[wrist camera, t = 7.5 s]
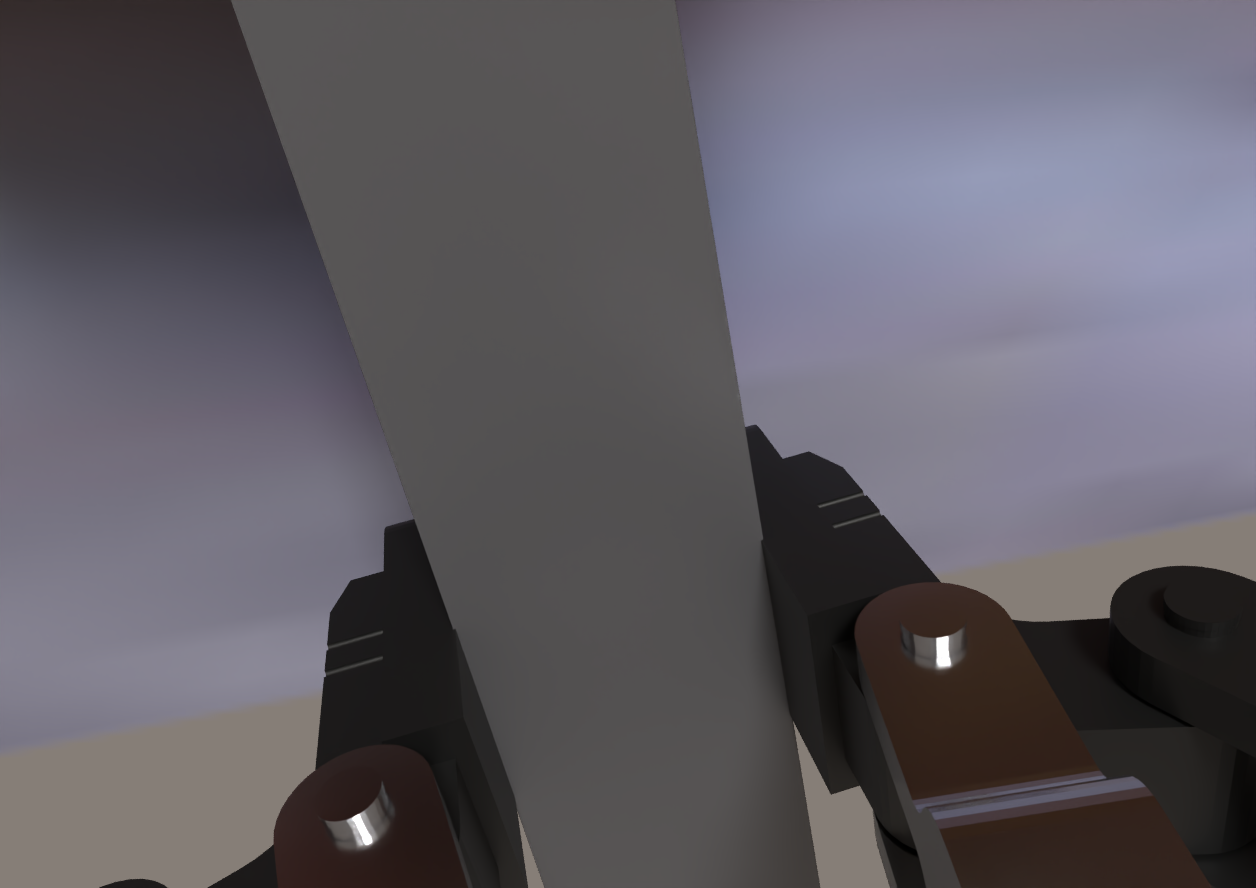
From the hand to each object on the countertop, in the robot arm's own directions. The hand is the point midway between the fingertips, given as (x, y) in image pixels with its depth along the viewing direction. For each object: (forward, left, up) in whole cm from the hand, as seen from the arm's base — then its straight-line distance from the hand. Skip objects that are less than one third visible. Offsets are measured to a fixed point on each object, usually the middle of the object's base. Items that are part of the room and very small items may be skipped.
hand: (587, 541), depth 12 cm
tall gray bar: (-2, 0, -2) cm, 2 cm away
